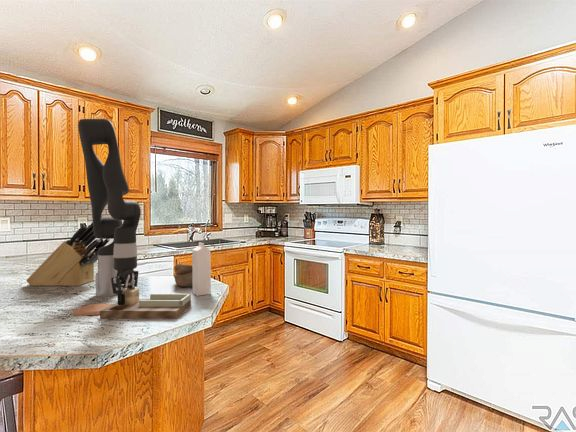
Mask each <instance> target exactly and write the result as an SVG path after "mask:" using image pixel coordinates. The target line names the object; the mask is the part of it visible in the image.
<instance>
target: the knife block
mask: <svg viewBox="0 0 576 432" xmlns="http://www.w3.org/2000/svg"><path fill="white" fill-rule="evenodd" d="M110 241H111V239H98V238H96V237H95V235H94V231H93V221H92V222H91V223H90V224H89V225H88V226H86V225H82V226H81V227H80V228H78V230H77V231H76V232H74V234H73V235H72V236H71V237H70V239H67V240H65V241H63V242H62V243H60V245H58V247H57V248H55V250H54V251H52V253H51V254H50V255H49V256H48V257H47V258H46V259H45V260H44V261H43V262H42V263H41V264H40V265H39V266H38V267H37V268H36V269H35V270H34V271H33V273H32V274H30V275H29V277H28V278H27V279H26V280H25V281H26V283H28V285H30V286H34V287H38V286H73V287H75V286H76V287H78V286H82V285H84V284H88V283H90V282H94V277H95V276H94V274H95V273H94V272H95V268H94V267H95V266H94V264H95V263H96V262H98V249H99V248H101V247H104V246H107V245H108V243H109V242H110Z"/></svg>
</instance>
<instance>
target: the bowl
mask: <svg viewBox="0 0 576 432" xmlns="http://www.w3.org/2000/svg"><path fill="white" fill-rule="evenodd" d="M173 270H174V273H173V278H174V283H175V284H176V285H177V286H179V287H182V288H187V287H193V285H192V265H190V264H181V263H178V264H175V265H174V269H173Z"/></svg>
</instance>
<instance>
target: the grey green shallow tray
mask: <svg viewBox="0 0 576 432" xmlns="http://www.w3.org/2000/svg"><path fill="white" fill-rule="evenodd" d="M149 295H150V296H149V299H150V300H139V307H182V306H183V305H184V304H186V303H187V302H188V301H189V300H191V301H192V293H150V294H149Z"/></svg>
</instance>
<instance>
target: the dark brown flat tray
mask: <svg viewBox="0 0 576 432" xmlns="http://www.w3.org/2000/svg"><path fill="white" fill-rule="evenodd" d="M139 300H150V298H139ZM112 304H113V305H111V306H109V307H107V308H105V309H103V310H101V311H100V315H99V319H148V320H149V319H151V320H152V319H153V320H154V319H159V320H160V319H166V320H167V319H168V320H169V319H171V320H172V319H173V320H174V319H175V320H177V319H178V318H179V317H180V316H182V314H184V313H185V312H186V311H187V310H188V309H189V308H190V307H192V299H191V300H189V301H188V302H187V303H186V304H184V305H183V306H182V307H139V301H138V302H136V303H135V304H133V305H118V301H117V302H114V303H112Z"/></svg>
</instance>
